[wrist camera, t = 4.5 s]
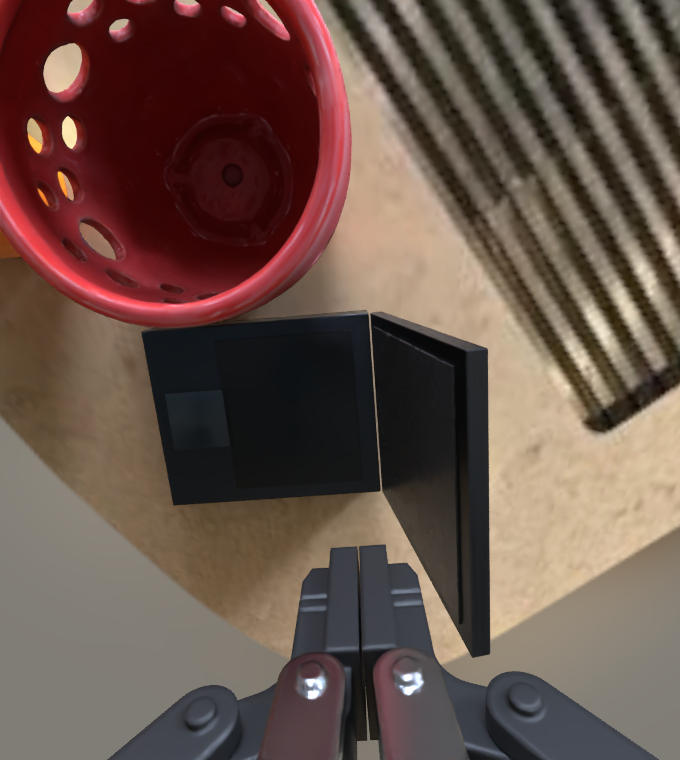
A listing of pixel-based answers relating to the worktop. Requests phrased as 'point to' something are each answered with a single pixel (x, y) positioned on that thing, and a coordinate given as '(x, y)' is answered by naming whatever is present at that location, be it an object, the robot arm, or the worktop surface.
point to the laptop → (266, 407)
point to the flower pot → (174, 153)
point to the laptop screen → (438, 461)
